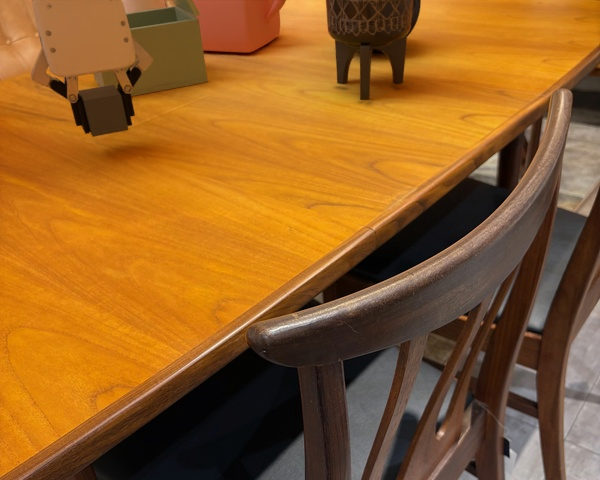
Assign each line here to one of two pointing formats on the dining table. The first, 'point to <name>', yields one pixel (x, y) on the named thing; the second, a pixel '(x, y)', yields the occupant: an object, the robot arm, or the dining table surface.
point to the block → (104, 110)
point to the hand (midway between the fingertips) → (106, 124)
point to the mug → (142, 5)
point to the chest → (165, 50)
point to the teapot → (238, 23)
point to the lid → (188, 6)
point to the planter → (369, 35)
